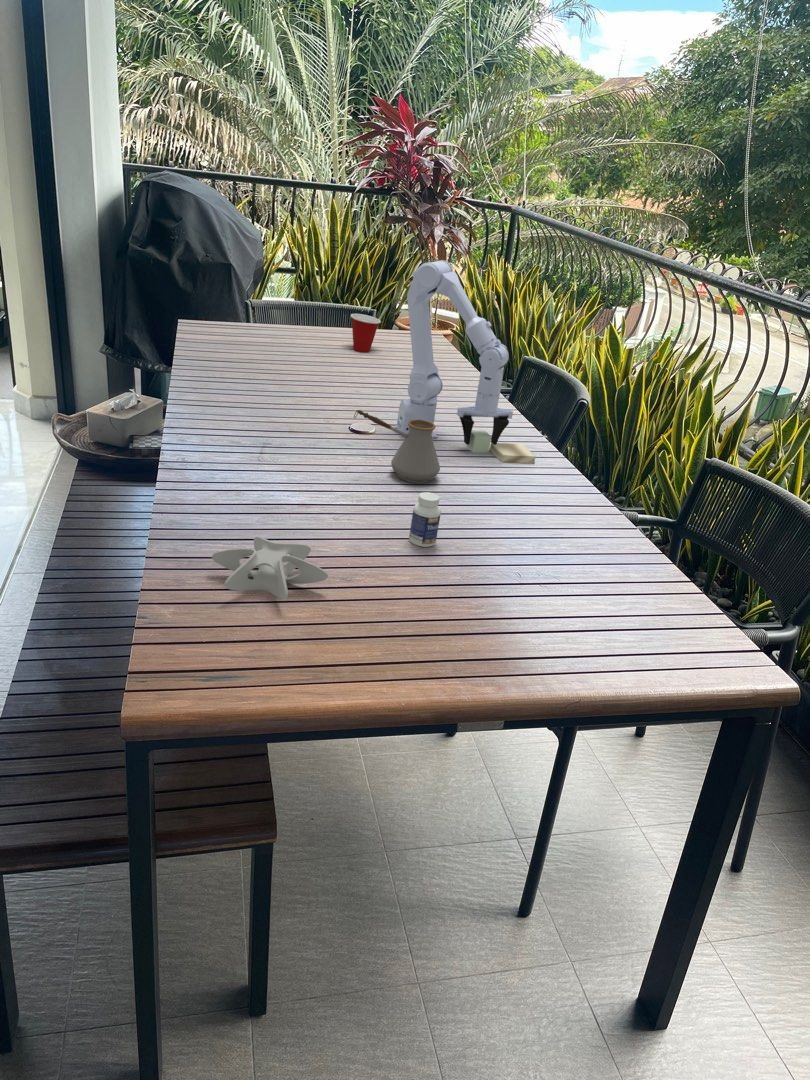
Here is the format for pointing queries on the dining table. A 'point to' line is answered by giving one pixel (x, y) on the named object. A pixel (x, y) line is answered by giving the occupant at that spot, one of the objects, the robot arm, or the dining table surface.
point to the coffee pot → (413, 451)
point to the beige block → (512, 453)
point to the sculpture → (269, 567)
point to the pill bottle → (425, 520)
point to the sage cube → (479, 441)
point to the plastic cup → (363, 331)
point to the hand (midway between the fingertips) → (480, 443)
